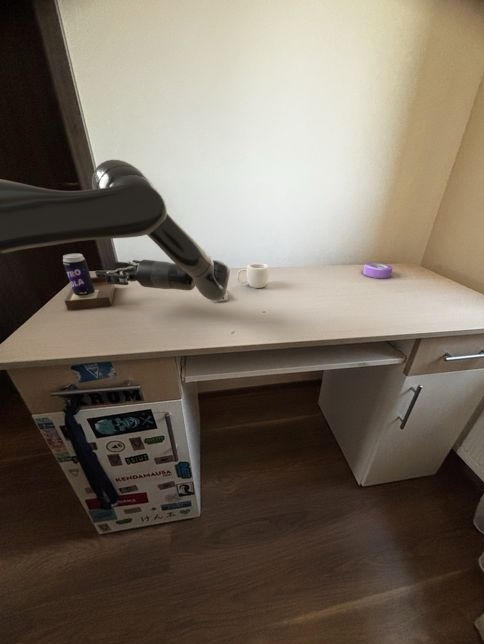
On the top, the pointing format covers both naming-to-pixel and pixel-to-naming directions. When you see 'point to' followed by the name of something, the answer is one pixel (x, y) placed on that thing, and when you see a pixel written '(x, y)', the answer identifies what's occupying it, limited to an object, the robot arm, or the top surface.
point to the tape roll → (377, 270)
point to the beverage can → (78, 275)
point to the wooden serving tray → (92, 296)
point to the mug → (256, 275)
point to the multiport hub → (223, 298)
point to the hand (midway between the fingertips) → (106, 269)
